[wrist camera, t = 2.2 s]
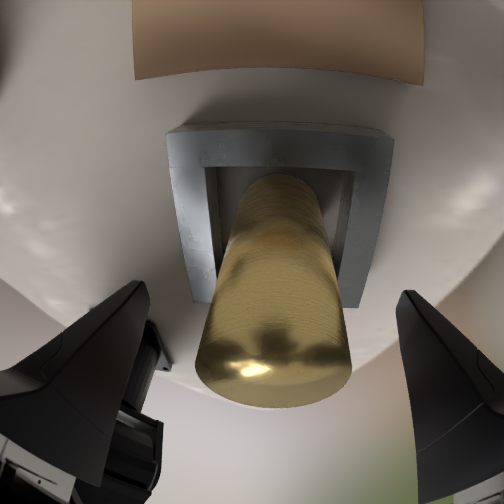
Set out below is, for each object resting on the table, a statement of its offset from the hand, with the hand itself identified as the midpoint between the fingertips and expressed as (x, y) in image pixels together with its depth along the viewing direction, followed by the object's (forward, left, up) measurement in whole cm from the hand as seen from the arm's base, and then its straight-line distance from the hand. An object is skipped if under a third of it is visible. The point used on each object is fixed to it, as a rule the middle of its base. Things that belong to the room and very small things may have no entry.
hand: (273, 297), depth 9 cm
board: (+13, 0, -6) cm, 14 cm away
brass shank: (0, 0, -6) cm, 6 cm away
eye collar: (0, 0, -6) cm, 6 cm away
